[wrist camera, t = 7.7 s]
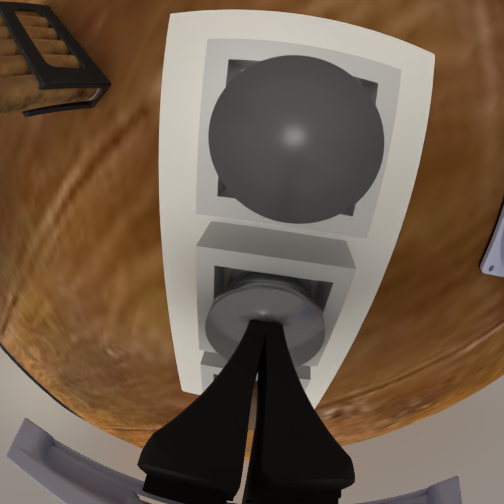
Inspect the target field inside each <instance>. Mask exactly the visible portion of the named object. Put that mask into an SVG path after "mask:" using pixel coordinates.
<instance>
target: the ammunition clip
mask: <svg viewBox="0 0 504 504" xmlns="http://www.w3.org/2000/svg"><path fill="white" fill-rule="evenodd" d="M110 85H111V83H110V82H109V80H108V79H107V78H106V77H105V75H104V74H103V73H102V72H101V71H100V69H99V68H98V67H97V66H96V64H95V63H94V62H93V61H92V60H91V58H90V57H89V56H88V55H87V53H86V52H85V51H84V50H83V48H82V47H81V46H80V45H79V44H78V42H77V41H76V40H75V39H74V37H73V36H72V35H71V34H70V32H69V31H68V30H67V29H66V27H65V26H64V25H63V24H62V23H61V21H60V20H59V19H58V18H57V16H56V15H55V14H54V13H53V11H52V10H51V9H50V8H49V6H46V5H38V4H30V3H19V2H0V117H1V116H5V115H9V114H13V113H17V112H21V111H22V113H23V115H24V116H25V117H29V116H34V115H39V114H45V113H51V112H58V111H65V110H73V109H83V108H93V106H94V105H95V104H96V103H97V101H98V100H99V99H100V98H101V96H102V95H103V94H104V93H105V91H106V90H107V89H108V88H109V87H110Z"/></svg>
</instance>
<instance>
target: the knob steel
mask: <svg viewBox="0 0 504 504" xmlns="http://www.w3.org/2000/svg"><path fill="white" fill-rule="evenodd" d="M252 319H253V320H260V321H267V322H275V323H281V324H282V325H283V328H284V334H285V338H286V342H287V346H288V350H289V353H290V356H291V359H292V362H293V365H294V367H298V366H300V365H303V364H304V363H306V362H308V361H309V360H311V359H312V358H313V357H314V356H315V355H316V354H317V353H318V352H319V350H320V349H321V347H322V345H323V343H324V339H325V327H324V318H323V314H322V311H321V309H320V307H319V305H318V304H317V302H316V301H315V300H314V299H313V295H312V285H311V280H310V279H303V278H296V277H289V276H282V275H275V274H268V273H261V272H254V271H248V270H241V269H235V268H233V270H232V272H231V274H230V278H229V281H228V284H227V287H226V289H225V290H224V291H223V292H221V293H220V294H219V295H218V296H217V297H216V298H215V300H214V301H213V303H212V305H211V307H210V310H209V313H208V315H207V318H206V322H205V332H206V336H207V339H208V341H209V343H210V345H211V346H212V347H213V349H214V350H215V351H216V352H217V353H218V354H219V355H220V356H222V357H223V358H224V359H226V360H227V361H229V359H230V358H231V356H232V355H233V353H234V352H235V350H236V348H237V346H238V345H239V343H240V341H241V339H242V337H243V335H244V333H245V331H246V329H247V326H248V323H249V321H250V320H252Z"/></svg>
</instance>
